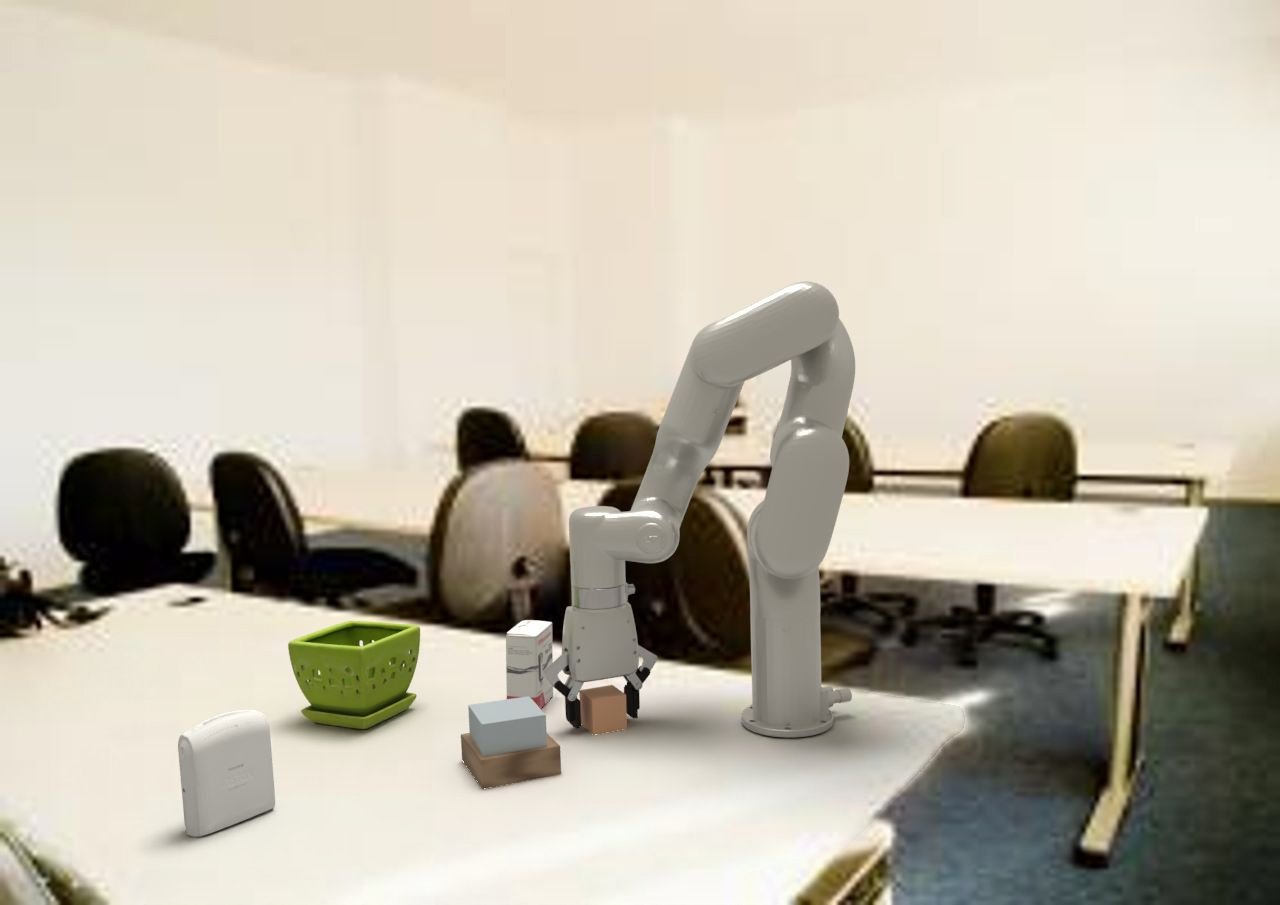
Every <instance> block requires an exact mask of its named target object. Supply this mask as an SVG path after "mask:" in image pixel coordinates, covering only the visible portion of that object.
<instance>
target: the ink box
mask: <svg viewBox="0 0 1280 905" xmlns="http://www.w3.org/2000/svg"><path fill="white" fill-rule="evenodd" d="M505 657H506V658H505V661H506V662H505V663H506V664H505V666H506V669H505V670H506V673H505V674H506V675H505V676H506V678H505V680H506V699H513V698H520V697H527V696H529V697H530V698H531V699H532V700H533V701H534V702H535V703H536V704H537V706H538V707H539V708H540V709H541V710H542V707H543V706H544V707H545V706H546V704H547V703H548V702H549V701H550V700H551V699H552V698H553V697H554V687H553V686H552V684H551V683H550V682H549V681H548V680H547V678H546V677H545V676H544V674H543V672H544V670H545V669H546V668H547V667H549V666H550V665H551V664H552V663H553V662H554V660H553V658H554V657H553V622H552V621H546V620H538V619H537V620H534V619H525V620H521V621H520V622H518V623H517V624H516V625H514V626H513V627H512V628H510V630H508V631H507V632H506V635H505ZM552 696H553V697H552ZM551 697H552V698H551ZM550 698H551V699H550ZM544 707H543V708H544Z"/></svg>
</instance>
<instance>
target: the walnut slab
mask: <svg viewBox="0 0 1280 905" xmlns="http://www.w3.org/2000/svg"><path fill="white" fill-rule="evenodd" d="M460 744H461V761H462V760H463V761H464V763H465V765H466V766H467V767H466V766H465V765H464V766H465V767H466V769H467V768H468V769H469V770H470V772H471V773H472V774H471V773H470V772H469V773H470V774H471V776H472V775H473V776H474V777H475V778H474V777H473V776H472V777H473V778H474V780H475V779H476V780H477V781H478V782H477V781H476V780H475V781H476V782H477V784H478V783H479V784H478V785H479V787H480V786H481V787H480V788H481V789H482V790H485V789H484V788H488V789H490V788H489V787H493V788H497V787H496V786H498V787H501V786H500V785H503V786H507V785H506V784H508V785H513V784H517V783H518V784H519V783H523V782H528V781H533V779H534V780H537V779H542V778H543V779H545V778H548V777H553V776H554V777H555V776H558V775H562V764H561V763H562V762H561V760H562V759H561V745H560V744H559V743H558V742H557V741H556V740H555V739H554V738H553V737H552V736H551V735H550V734H549V733H547V746H545V747H539V748H533V749H527V750H521V751H515V752H508V753H502V754H496V755H490V756H484V757H483V755H482V754H481V752H480V751H479V749H478V748H477V746H476V744H475V743H474V741H473V740H472V738H471V737H470V732H468V733H461V734H460ZM464 763H463V764H464ZM468 769H467V770H468ZM469 770H468V771H469ZM527 780H528V781H527ZM522 781H523V782H522ZM512 783H513V784H512Z"/></svg>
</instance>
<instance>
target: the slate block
mask: <svg viewBox="0 0 1280 905" xmlns="http://www.w3.org/2000/svg"><path fill="white" fill-rule="evenodd" d="M467 708H468V725H469V728H468V730H469V733H470V737H471V738H472V740H473V741H474V743H475V744H476V746H477V748H478V749H479V751H480V752H481V754H482V755H483V757H484V756H490V755H496V754H502V753H508V752H515V751H521V750H527V749H533V748H539V747H545V746H547V734H548V733H547V715H546V713H545V711H543V710H542V709H540V708H539V707H538V706H537V704H536V703H535V702H534V701H533V700H532V699H531V698H530V697H529V696H527V697H520V698H513V699H507V698H506V699H502V700H500V699H499V700H495V701H487V702H479V703H472V704H468V706H467Z"/></svg>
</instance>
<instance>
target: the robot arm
mask: <svg viewBox="0 0 1280 905" xmlns="http://www.w3.org/2000/svg"><path fill="white" fill-rule="evenodd" d="M688 350H689V351H688V353H687V355H686V357H685V361H684V363H683V366H682V368H681V371H680V374H679V376H678V379H677V382H676V384H675V387H674V389H673V392H672V393H671V396H670V399H669V401H668V404H667V406H666V410H665V411H664V415H663V417H662V420H661V422H660V424H659V427H658V431H657V434H656V439H655V444H654V447H653V449H652V450H653V452H652V455H651V456H650V459H649V462H648V465H647V467H646V471H645V473H644V476H643V479H641V480H642V481H641V483H640V486H639V489H638V491H637V493H636V496H635V498H634V501H633V503H632V505H631V509H630V510H629V511H621V510H620V509H618V508H616V507H614V506H607V505H595V506H592V505H591V506H584V507H579V508H576V509H574V510H573V511H572V512H571V513H570V515H569V518H568V534H569V535H568V537H569V538H568V539H569V540H568V541H569V562H570V563H569V564H570V583H571V584H570V586H571V606H567V607H566V609H565V613H564V619H563V628H562V639H561V640H562V642H561V654H560V655H559V656H558V657H557V658H556V659H555V660H553V663H552V664H551V665H550V666H549V667H547V668H546V669H545V670H544V672H543V674H544V676H545V677H546V678H547V680H548V681H549V682H550V683H551V684H552V686H553V689H555V690H557V692H559V694H561V695H562V696H564V707H565V718H566V721H567V722H568V723H569V724H570V725H571V726H572V727H573V728H574V729H576V730H577V729H580V728H581V727H582V725H581V706H580V698H578V695H579V691H580V690H582V687H583V685H584V684H585V683H589V682H595V681H596V682H597V681H602V680H603V681H604V680H608V679H614V678H620V677H623V679H624V680H625V682H626V684H624V686H623V693H625V694H626V709H627V716H629V717H630V718H633V719H637V718H639V717H638V716H639V715H638V710H640V708H641V704H640V703H641V702H640V701H641V700H640V690H641V689H642V688H643V684H644V683H645V681H646V680H647V679H648V677H649V676H650V675H651V672H652V671H651V670H653V668H654V666H655V664H656V663H657V661H658V656H657V654H654V653H653V652H651V651H649V650H647V649H646V648H644V647H643V646H641V645H639V643H638V635H637V634H638V633H637V630H636V629H637V628H636V623H635V618H634V613H633V609H632V605H631V604H630V603H629V599H628V598H629V596H630V595H632V594H635V592H636V587H635V585H634V583H631V584H629V583H628V582H626V581H627V580H626V561H627V562H635V563H640V564H641V563H643V564H657V563H658V564H659V563H661V562H664V561H666V560H668V559H669V558H670V557H671V556H672V555H674V553H675V552H676V550H677V548H678V546H679V542H680V537H681V536H680V528H681V525H682V523H683V520H684V516H685V514H686V512H687V509H688V508H689V504H690V502H691V499H692V497H693V495H694V491H695V489H696V487H697V485H698V483H699V480H700V479H701V476H702V474H703V472H704V471H705V469H707V468H706V467H708V465H709V463H710V462H711V461H712V460H713V459H714V457H715V455H716V453H717V452H718V449H719V447H720V445H721V442H722V441H723V437H724V435H725V433H726V429H727V427H728V425H729V422H730V420H731V417H732V414H733V411H734V410H735V408H736V407H735V406H736V404H737V402H738V399H739V396H740V394H741V392H742V389H743V387H744V384H745V382H746V381H749V380H751V379H753V378H756V377H757V376H760V375H763V374H765V373H766V372H768V371H771V370H773V369H775V368H776V367H779V366H780V365H782V364H785V363H787V362H789V361H790V364H791V365H790V367H791V368H790V377H789V381H788V385H787V389H786V390H787V391H786V396H785V400H784V404H783V408H782V411H781V415H780V418H779V421H778V426H777V429H776V432H775V434H774V438H773V440H772V442H771V446H770V450H769V451H770V452H769V459H770V466H771V471H770V474H769V475H770V476H769V478H768V484H767V488H766V492H765V495H764V499H763V500H762V501H761V502H760V503H758V504H757V505H756V507H755V508H754V509H753V511H752V513H751V514H750V517H749V519H748V522H747V530H746V531H747V532H746V543H747V555H748V574H749V576H748V577H749V598H750V599H749V601H750V602H749V604H750V607H749V608H750V609H749V610H750V614H749V615H750V619H749V620H750V653H751V654H750V655H751V657H750V658H751V661H750V662H751V693H752V694H751V697H752V698H751V700H752V701H751V702H752V705H751V704H750V705H749V706H748V707H746V708H744V710H743V711H742V712H741V723H742V725H743V726H744V727H745V728H746V729H747V730H749V731H751V732H754V733H756V734H759V735H763V736H767V737H774V738H789V739H790V738H804V737H810V736H811V737H812V736H815V735H819V734H822V733H824V732H826V731H828V730H830V729H831V728H832V726H833V724H834V714H833V712H832V711H831V710H830V708H831V707H832V708H833V706H834V705H835V704H842V703H843V704H844V703H849V702H851V701H852V700H853V694H852V691H851V689H850V688H848V687H845V688H844V687H843V688H839V689H838V688H837V689H835V690H834V688H833V687H832V685H829V686H824V687H823V686H822V645H821V644H822V642H821V583H820V582H821V581H820V569H819V568H820V567H819V566H820V565H821V563H823V561H824V559H825V557H826V555H827V553H828V550H829V548H830V544H831V541H832V537H833V534H834V530H835V527H836V524H837V521H838V520H837V519H838V516H839V511H840V507H841V504H842V501H843V497H844V494H845V490H846V486H847V481H848V476H849V470H850V454H849V450H848V447H847V445H846V443H845V440H844V439H843V433H844V428H845V425H846V421H847V416H848V413H849V408H850V404H851V403H850V402H851V398H852V393H853V389H854V385H855V377H856V357H855V351H854V346H853V343H852V340H851V338H850V335H849V333H848V331H847V329H846V327H845V325H844V322H842V320H841V319H840V310H839V305H838V302H837V299H836V297H835V296H834V294H833V293H832V292H831V291H830V290H829V289H828V288H826V287H825V286H824V285H822V284H819V283H817V282H813V281H799V282H795V283H792V284H790V285H788V286H786V287H783V288H782V289H780V290H778V291H777V292H774V293H772V294H770V295H769V296H767V297H765V298H763V299H760V300H758V301H757V302H754V303H753V304H750V305H749V306H747V307H745V308H743V309H741V310H739V311H737V312H734V313H732V314H730V315H728V316H725V317H724V318H721V319H719V320H716V321H714V322H711V323H709V324H707V325H706V326H705V327H703V328H701V330H699V331H698V333H697V334H696V335H695V336H694V339H693V341H692V343H691V344H690V348H689V349H688ZM639 657H641V658H642V659H643V660H642V663H641V665H640V662H639V660H640V658H639ZM560 672H563V674H565V675H568V677H567V679H566V681H565V683H564V682H562V680H561V678H560V677H559V674H560Z"/></svg>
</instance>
